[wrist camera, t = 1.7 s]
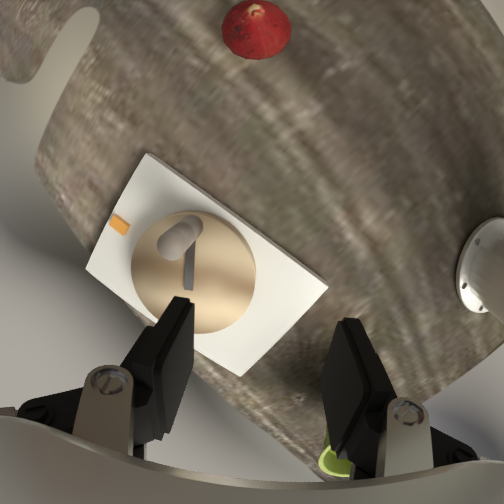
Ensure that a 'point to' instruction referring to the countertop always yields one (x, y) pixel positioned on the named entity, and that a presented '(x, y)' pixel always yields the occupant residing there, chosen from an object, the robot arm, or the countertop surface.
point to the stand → (264, 249)
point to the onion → (256, 29)
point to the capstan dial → (195, 268)
